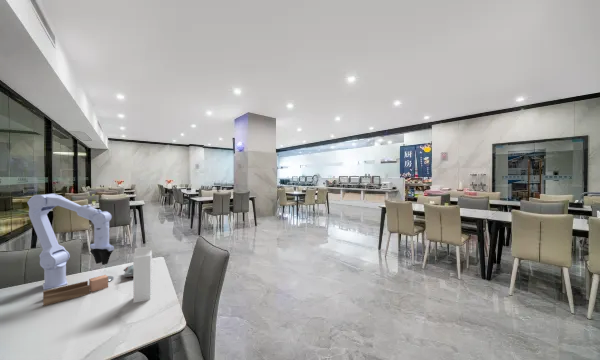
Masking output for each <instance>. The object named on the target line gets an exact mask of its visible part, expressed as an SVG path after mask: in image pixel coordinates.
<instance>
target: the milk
mask: <svg viewBox="0 0 600 360" xmlns="http://www.w3.org/2000/svg"><path fill="white" fill-rule="evenodd" d="M132 259H133V261H132V262H133V263H132V265H133V276H132V277H133V280H132V281H133V290H132V291H133V295H132V296H133V304H134V303H140V302H145V301H150V300H151V299H152V295H153V251H152V246H145V247H144V246H143V247H135V248H134V253H133V257H132Z"/></svg>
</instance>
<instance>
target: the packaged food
mask: <svg viewBox="0 0 600 360" xmlns="http://www.w3.org/2000/svg"><path fill="white" fill-rule="evenodd" d="M123 272H124V273H123V274H122V277H125V278H131V277H133V264H132V265H128V266H126V267H125V268H124V269H123Z"/></svg>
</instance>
